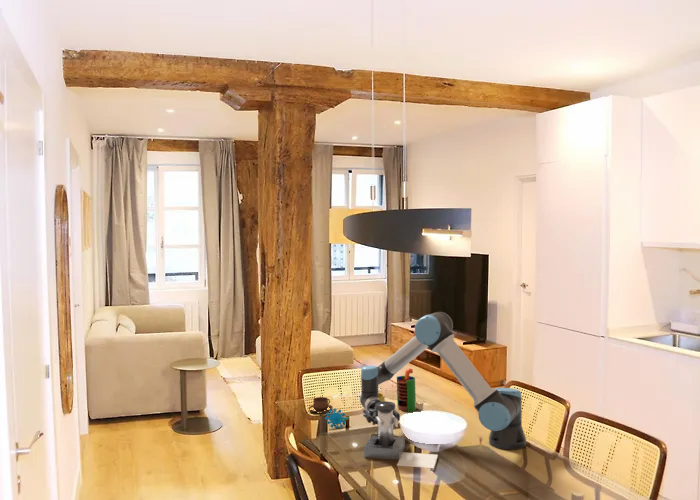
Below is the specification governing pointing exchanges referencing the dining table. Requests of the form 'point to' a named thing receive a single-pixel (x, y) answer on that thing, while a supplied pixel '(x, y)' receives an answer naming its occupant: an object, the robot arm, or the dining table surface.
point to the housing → (384, 448)
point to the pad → (418, 460)
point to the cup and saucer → (320, 404)
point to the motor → (406, 392)
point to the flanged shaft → (385, 422)
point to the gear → (336, 418)
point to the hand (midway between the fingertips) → (388, 424)
